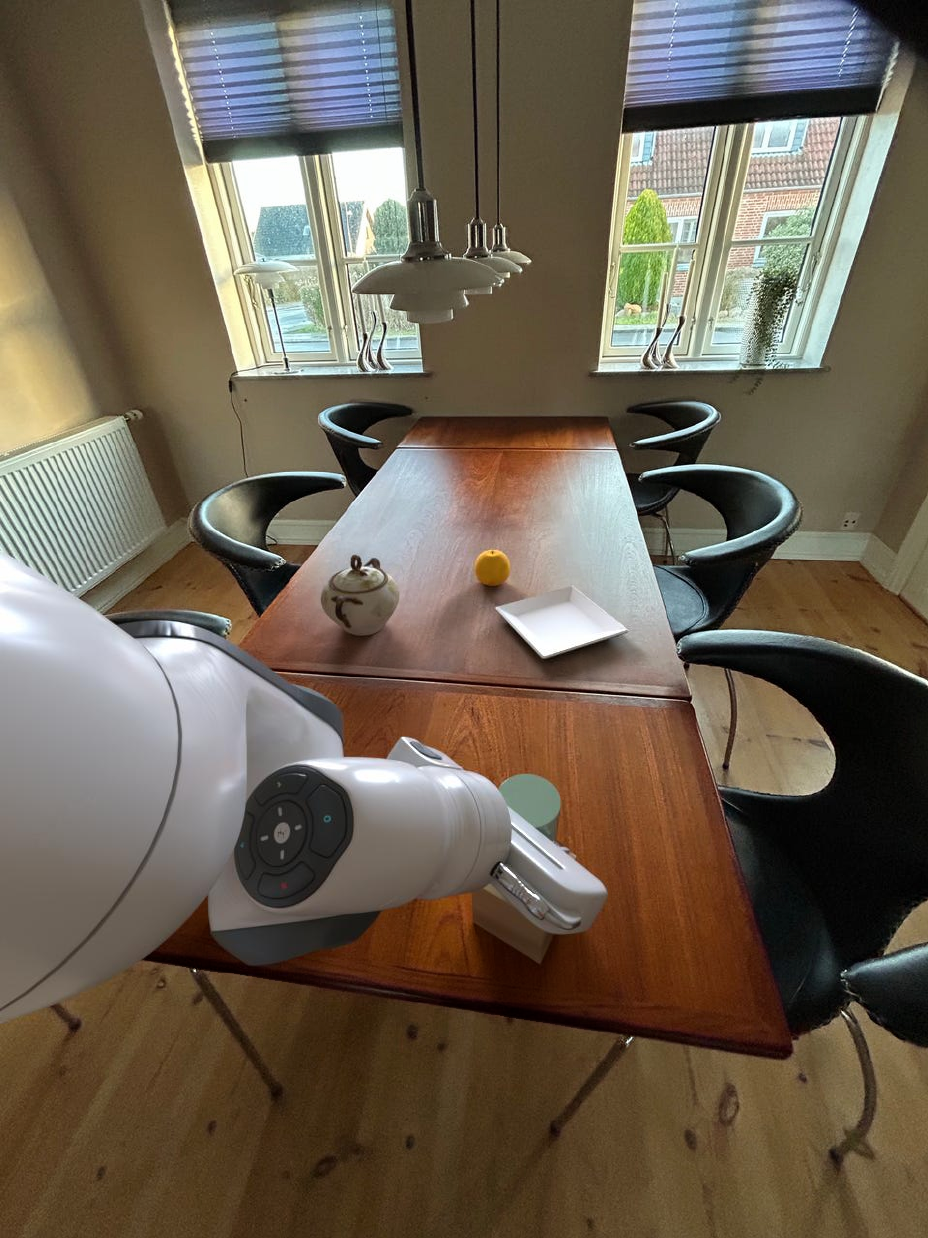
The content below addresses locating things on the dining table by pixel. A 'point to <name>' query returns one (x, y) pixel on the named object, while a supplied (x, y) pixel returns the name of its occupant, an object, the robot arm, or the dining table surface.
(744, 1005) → the dining table surface
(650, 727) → the dining table surface
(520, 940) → the stand
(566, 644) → the plate
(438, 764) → the robot arm
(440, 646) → the dining table surface
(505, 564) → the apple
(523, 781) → the canister
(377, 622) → the sugar bowl
